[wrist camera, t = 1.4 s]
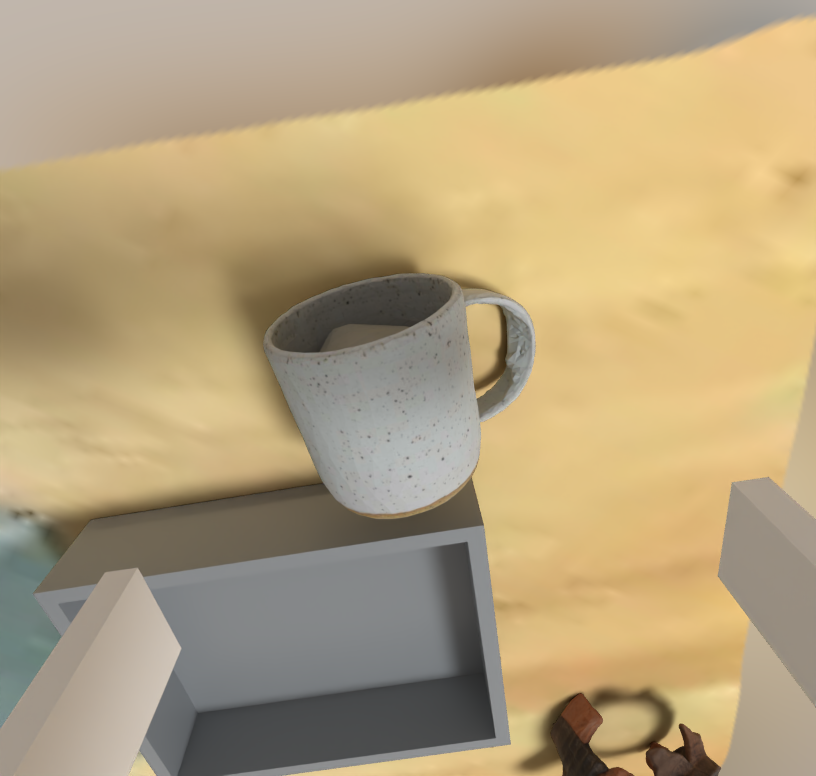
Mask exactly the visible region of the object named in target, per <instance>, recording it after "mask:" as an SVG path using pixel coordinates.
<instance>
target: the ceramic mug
mask: <svg viewBox="0 0 816 776" xmlns="http://www.w3.org/2000/svg"><path fill="white" fill-rule="evenodd" d="M476 303H478V304H497V305H499V306H500V307H501V308H502V309H503V313H504V315H505V316H506V322H507V355H506V358H505V361H506V364H507V366H506V368H505V371H504V373H503V374H502V376H501V377H500V379H499V380H498V381H497V383H496V384H495V385H494V386H493V387H492V388H491V389H490V390H488V391H487V392H486V393H485V394H484V395H483V396H481V397H479V398H477V399H476V394H475V389H474V381H473V371H472V361H471V351H470V344H469V338H468V330H467V319H466V308H465V307H466V306H468V305H471V304H476ZM263 345H264V351H265V354H266V356H267V358H268V360H269V362H270V365H271V367H272V369H273V371H274V374H275V376H276V378H277V380H278V382H279V385H280V387H281V389H282V391H283V394H284V396H285V399H286V401H287V403H288V406H289V408H290V411H291V413H292V415H293V417H294V419H295V421H296V424H297V426H298V428H299V430H300V432H301V434H302V436H303V439H304V441H305V444H306V446H307V449H308V451H309V454H310V456H311V459H312V461H313V463H314V466H315V468H316V470H317V472H318V474H319V476H320V478H321V480H322V481H323V483H324V484H325V486H326V487H327V488H328V490H329V491H330V493H331V494H332V495H333V497H334V498H335V499H336V501H338V502H339V503H340V504H342V505H343V506H344V507H345V508H347V509H348V510H350V511H352V512H354V513H356V514H358V515H362V516H366V517H370V518H375V519H396V518H403V517H408V516H412V515H415V514H419V513H422V512H425V511H428V510H430V509H433V508H435V507H437V506H439V505H441V504H443V503H445V502H447V501H448V500H449V499H451V498H452V497H453V496H454V495H456V494H457V493H458V492H459V491H460V490H461V489H462V488H463V487H464V486H465V485H466V484H467V482H468V481H469V480H470V479H471V477H472V475H473V473H474V471H475V469H476V467H477V463H478V460H479V453H480V441H481V428H480V422H484V421H486V420H488V419H490V418H492V417H494V416H495V415H496V414H498V413H500V412H501V411H503V410H504V409H505V408H506V407H507V406H509V405H510V404H511V403H512V402H513V401H514V400H515V399H516V398H517V397H518V396H519V394H520V393H521V391H522V389H523V388H524V386H525V384H526V382H527V380H528V378H529V376H530V374H531V371H532V367H533V363H534V356H535V332H534V327H533V323H532V320H531V318H530V316H529V314H528V313H527V311H526V310H525V309H524V308H523V306H521V305H520V304H519V303H517V302H516V301H514V300H513V299H511V298H509V297H507V296H504V295H501V294H498V293H495V292H492V291H489V290H484V289H461V287H460V286H459V285H458V284H457V283H456V282H455V281H453V280H451V279H449V278H447V277H444V276H441V275H434V274H424V273H419V274H415V273H408V274H395V275H391V276H385V277H378V278H370V279H366V280H362V281H358V282H354V283H351V284H347V285H342V286H340V287H338V288H334V289H331V290H328V291H326V292H323V293H321V294H319V295H316V296H314V297H311V298H309V299H307V300H305V301H303V302H301V303H299V304H297V305H295V306H293V307H292V308H290V309H289V310H288V311H287V312H285V313H284V314H282V315H281V316H280V317H279V318H278V319H277V320H276V321H275V322H274V323H273V324H272V325H271V326H270V327H269V328H268V329H267V331H266V333H265V336H264V342H263Z"/></svg>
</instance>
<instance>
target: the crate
mask: <svg viewBox="0 0 816 776" xmlns="http://www.w3.org/2000/svg"><path fill="white" fill-rule="evenodd" d="M131 568H138V569H139V571H140V573H141V574H142V576H143V578H144V580H145V582H146V584H147V586H148V587H149V589H150V591H151V593H152V595H153V597H154V599H155V600H156V602H157V604H158V606H159V608H160V610H161V611H162V613H163V615H164V617H165V619H166V621H167V623H168V624H169V626H170V628H171V630H172V632H173V634H174V636H175V637H176V639H177V641H178V643H179V645H180V647H181V651H180V653H179V656H178V658H177V660H176V663H175V665H174V668H173V670H172V672H171V675H170V677H169V679H168V682H167V684H166V687H165V689H164V691H163V694H162V696H161V699H160V701H159V703H158V706H157V708H156V711H155V713H154V715H153V718H152V720H151V723H150V725H149V727H148V730H147V732H146V735H145V737H144V739H143V742H142V744H141V746H140V749H139V751H140V752H141V754H142V755H143V756H144V758H145V759H146V761H147V762H148V764H149V765H150V767H151V768H152V770H153V771H154V773H155V774H156V776H283V775H290V774H298V773H305V772H312V771H320V770H327V769H334V768H342V767H349V766H356V765H364V764H371V763H378V762H386V761H393V760H400V759H408V758H415V757H422V756H430V755H437V754H444V753H452V752H459V751H466V750H474V749H481V748H488V747H496V746H503V745H510V744H511V742H510V734H509V726H508V718H507V710H506V702H505V693H504V685H503V677H502V669H501V661H500V653H499V645H498V636H497V628H496V620H495V612H494V604H493V596H492V588H491V580H490V571H489V563H488V555H487V547H486V539H485V531H484V524H483V520H482V516H481V512H480V508H479V504H478V500H477V497H476V493H475V489H474V485H473V481H472V477H471V479H470V480H469V481H468V482H467V484H466V485H465V486H464V487H463V488H462V489H461V490H460V491H459V492H458V493H457V494H456V495H454V496H453V497H452V498H451V499H449V500H448V501H447V502H445V503H443V504H441V505H439V506H437V507H435V508H433V509H430V510H428V511H425V512H422V513H419V514H415V515H412V516H408V517H403V518H396V519H375V518H370V517H366V516H362V515H358V514H356V513H354V512H352V511H350V510H348V509H347V508H345V507H344V506H343V505H342V504H340V503H339V502H338V501H336V499H335V498H334V497H333V495H332V494H331V493H330V491H329V490H328V488H327V487H326V486H325V484H324V483H323V484H316V485H310V486H303V487H297V488H291V489H284V490H278V491H272V492H265V493H259V494H252V495H246V496H240V497H233V498H227V499H221V500H214V501H208V502H201V503H195V504H189V505H182V506H176V507H170V508H163V509H157V510H150V511H144V512H138V513H131V514H125V515H119V516H112V517H106V518H99V519H93V520H90V521H89V523H88V524H87V525H86V527H85V528H84V529H83V530H82V532H81V533H80V534H79V535H78V537H77V538H76V539H75V540H74V542H73V543H72V544H71V546H70V547H69V548H68V549H67V551H66V552H65V553H64V554H63V556H62V557H61V558H60V560H59V561H58V562H57V563H56V565H55V566H54V567H53V568H52V570H51V571H50V572H49V574H48V575H47V576H46V577H45V579H44V580H43V581H42V582H41V584H40V585H39V586H38V588H37V589H36V590H35V591H34V593H33V595H34V597H35V598H36V600H37V601H38V603H39V604H40V606H41V607H42V608H43V610H44V611H45V613H46V614H47V616H48V617H49V619H50V620H51V622H52V623H53V625H54V626H55V628H56V629H57V630H58V632H59V633H60V635H61V636H63V635H64V633H65V632H66V630H67V629H68V627H69V626H70V624H71V623H72V621H73V620H74V618H75V617H76V615H77V614H78V612H79V611H80V609H81V608H82V606H83V605H84V603H85V602H86V600H87V599H88V597H89V596H90V594H91V593H92V591H93V590H94V588H95V587H96V585H97V584H98V582H99V581H100V579H101V578H102V576H103V575H104V573H105V572H110V571H117V570H124V569H131Z"/></svg>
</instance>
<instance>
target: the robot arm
mask: <svg viewBox="0 0 816 776" xmlns="http://www.w3.org/2000/svg"><path fill="white" fill-rule="evenodd" d="M718 577H719V578H720V580H721V581H722V582H723V584H724V585H725V586H726V588H727V589H728V591H729V592H730V593H731V595H732V596H733V597H734V599H735V600H736V601H737V603H738V604H739V605H740V607H741V608H742V609H743V611H744V612H745V613H746V615H747V616H748V617H749V619H750V620H751V621H752V623H753V624H754V625H755V627H756V628H757V629H758V631H759V632H760V633H761V635H762V636H763V637H764V639H765V640H766V642H767V643H768V644H769V645H770V647H771V648H772V650H773V651H774V652H775V654H776V655H777V656H778V658H779V659H780V660H781V662H782V663H783V664H784V665H785V667H786V668H787V670H788V671H789V672H790V674H791V675H792V676H793V678H794V679H795V680H796V682H797V683H798V684H799V686H800V687H801V688H802V690H803V691H804V693H805V694H806V695H807V697H808V698H809V699H810V700H811V702H812V703H813V704H814V706H815V707H816V519H815V518H814V517H813V516H811V515H810V514H809V513H808V512H807V511H806V510H805V509H804V508H803V507H801V506H800V505H799V504H798V503H797V502H796V501H795V500H793V499H792V498H791V497H790V496H789V495H788V494H787V493H786V492H785V491H784V490H782V489H781V488H780V487H779V486H778V485H777V484H776V483H775V482H774V481H772V480H771V479H770V478H769V477H766V478H760V479H753V480H746V481H739V482H732V485H731V492H730V499H729V505H728V512H727V519H726V525H725V532H724V538H723V545H722V552H721V558H720V565H719V572H718ZM180 651H181V647H180V645H179V643H178V641H177V639H176V637H175V636H174V634H173V632H172V630H171V628H170V626H169V624H168V623H167V621H166V619H165V617H164V615H163V613H162V611H161V610H160V608H159V606H158V604H157V602H156V600H155V599H154V597H153V595H152V593H151V591H150V589H149V587H148V586H147V584H146V582H145V580H144V578H143V576H142V574H141V573H140V571H139V569H138V568H131V569H124V570H117V571H110V572H105V573H104V575H103V576H102V578H101V579H100V581H99V582H98V584H97V585H96V587H95V588H94V590H93V591H92V593H91V594H90V596H89V597H88V599H87V600H86V602H85V603H84V605H83V606H82V608H81V609H80V611H79V612H78V614H77V615H76V617H75V618H74V620H73V621H72V623H71V624H70V626H69V627H68V629H67V630H66V632H65V633H64V635H63V636H62V638H61V639H60V641H59V642H58V643H57V645H56V646H55V648H54V649H53V651H52V652H51V654H50V655H49V657H48V658H47V660H46V661H45V663H44V664H43V666H42V667H41V669H40V670H39V672H38V673H37V675H36V676H35V678H34V679H33V681H32V682H31V684H30V685H29V687H28V688H27V690H26V691H25V693H24V694H23V696H22V697H21V699H20V700H19V702H18V703H17V705H16V706H15V708H14V709H13V711H12V712H11V714H10V715H9V717H8V718H7V720H6V721H5V723H4V724H3V726H2V727H1V729H0V776H128V775H129V773H130V770H131V768H132V766H133V763H134V761H135V758H136V756H137V754H138V751H139V749H140V746H141V744H142V742H143V739H144V737H145V735H146V732H147V730H148V727H149V725H150V723H151V720H152V718H153V715H154V713H155V711H156V708H157V706H158V703H159V701H160V699H161V696H162V694H163V691H164V689H165V687H166V684H167V682H168V679H169V677H170V675H171V672H172V670H173V668H174V665H175V663H176V660H177V658H178V656H179V653H180Z"/></svg>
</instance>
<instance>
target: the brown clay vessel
mask: <svg viewBox="0 0 816 776" xmlns="http://www.w3.org/2000/svg"><path fill="white" fill-rule="evenodd" d="M602 722H603V718H602V716H601V715H600V714H599V713H598V712H597V711H596V710H595V709H594V708H593V707H592V706H591V705H590V703H589V702H588V700H587V699H586V698H585V697H584V695H583V694H582V693H580V694H578V695H577V696H576V697H575V698H574V699H572V700H571V702H570V703H569V704H568V705H567V706H566V708H565V710H564V711H563V712H562V714H561V715H560V716H559V718H558V720H557V721H556V723H554V724H553V728H552V729H551V737H552V739H553V741H554V743H555V745H556V748H557V751H558V754H559V756H560V758H561V761H562V764H563V775H562V776H634V775H633V774H631V773H629V772H627V771H626V770H624V769H622V768H619V767H615V768H611V769H608V767H607V766H606V764H605V763H604V762H603V761H601V760H600V759H599V758H598V757H597V756H596V755H595V754H594V753H593V751H592V750H591V748H590V746H589V742H590V740H591V737H592V735H593V734H594V733H595V731H596V730H597V728H598V727H599V726H600V725H601V724H602ZM679 729H680V731H681V734H682V737H683V740H684V746H682V747H679V748H678V749H676V750H675V751H673V752H671V751H669V750H668V748H666V747H663V746H662V745H660V744H658V743H656V742H652V743H651V745H650V748H649V750H648V751H647V752H646V763H647V765H648V766H649V767H650V769H652V770H653V772H654V776H718V773H719V771H720V769H721V767H720V766H718V765H717V764H716V763H715V762H714V761H712V760H711V759H710V758H709V757H708V756H707V755H706V753H705V750H704V746H703V742H702V740H701V736H700V734H698V733H695V732H692V731H691V730H690V729H689V728H688V727H686V726H685V725H684V724H679Z"/></svg>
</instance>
